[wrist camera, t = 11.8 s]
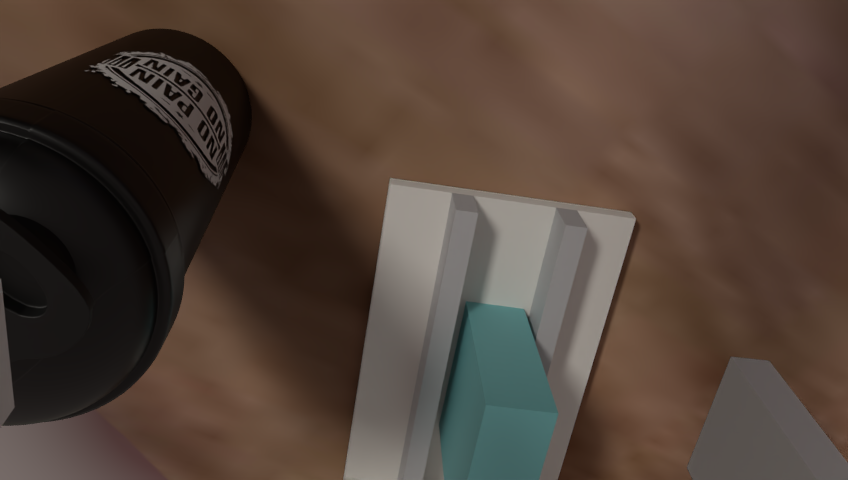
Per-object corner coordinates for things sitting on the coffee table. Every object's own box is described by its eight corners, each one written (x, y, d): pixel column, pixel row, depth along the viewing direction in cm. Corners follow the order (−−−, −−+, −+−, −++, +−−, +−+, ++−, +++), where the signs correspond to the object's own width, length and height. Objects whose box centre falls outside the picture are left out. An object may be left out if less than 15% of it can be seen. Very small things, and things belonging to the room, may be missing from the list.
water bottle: (307, 125, 41) (221, 366, 20) (170, 234, 43) (-37, 553, 22) (170, -33, 37) (-112, 55, 16) (29, 94, 39) (-380, 316, 18)
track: (389, 177, 42) (390, 245, 34) (631, 212, 44) (687, 284, 35) (342, 484, 51) (333, 596, 43) (544, 504, 52) (573, 616, 44)
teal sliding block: (466, 301, 44) (485, 405, 35) (524, 308, 45) (558, 413, 36) (438, 424, 48) (450, 548, 39) (492, 431, 48) (516, 554, 39)
